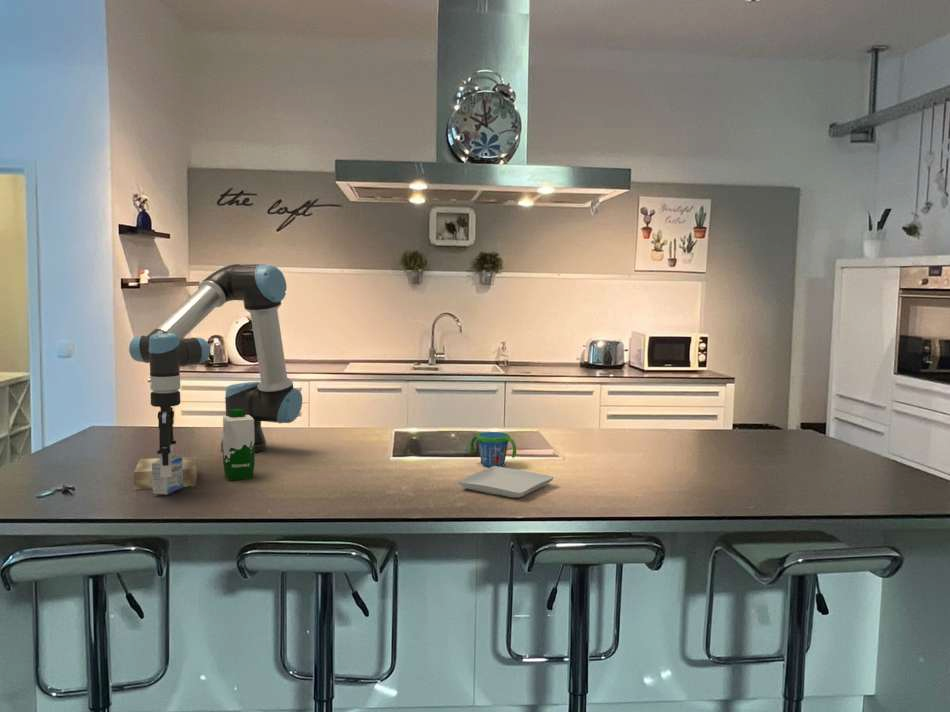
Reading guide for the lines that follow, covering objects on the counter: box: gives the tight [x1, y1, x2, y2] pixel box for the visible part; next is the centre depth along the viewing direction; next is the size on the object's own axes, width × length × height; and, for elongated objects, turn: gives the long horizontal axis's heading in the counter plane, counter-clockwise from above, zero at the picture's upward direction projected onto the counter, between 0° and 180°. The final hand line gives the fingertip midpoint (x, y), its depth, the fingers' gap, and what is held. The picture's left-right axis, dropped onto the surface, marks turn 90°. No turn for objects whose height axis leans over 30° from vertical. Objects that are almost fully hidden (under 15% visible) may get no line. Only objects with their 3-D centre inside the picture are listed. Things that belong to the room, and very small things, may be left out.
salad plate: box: [457, 466, 554, 499], centre depth 226 cm, size 21×21×3 cm
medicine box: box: [152, 456, 184, 496], centre depth 214 cm, size 8×4×9 cm, turn 169°
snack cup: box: [469, 431, 517, 468], centre depth 253 cm, size 16×10×10 cm
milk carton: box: [222, 409, 256, 481], centre depth 232 cm, size 9×9×20 cm
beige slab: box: [133, 456, 198, 491], centre depth 226 cm, size 16×16×5 cm
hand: (167, 472), depth 213 cm, fingers closed on medicine box, 9 cm apart
